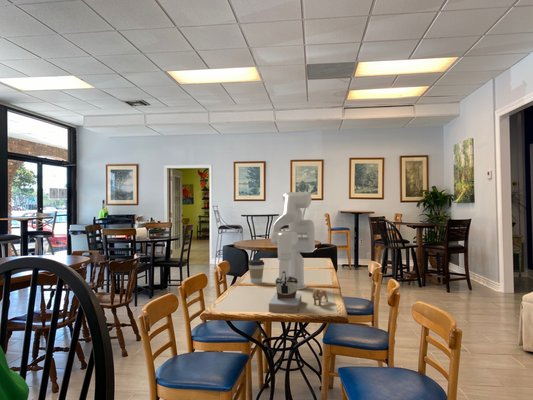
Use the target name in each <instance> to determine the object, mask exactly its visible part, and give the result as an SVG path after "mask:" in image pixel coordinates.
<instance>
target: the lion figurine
mask: <svg viewBox="0 0 533 400" xmlns="http://www.w3.org/2000/svg"><path fill="white" fill-rule="evenodd" d="M323 297H324V300H325V302H326V303H328V302H329V298H328V295H327V291H326V290H325V289H319V288H315V289H313V291H312V298H313V302H314V303H313V305H314V306H316V305H317V301H318V306H322V304H321V303H322V300H323ZM324 300H323V301H324Z"/></svg>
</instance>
